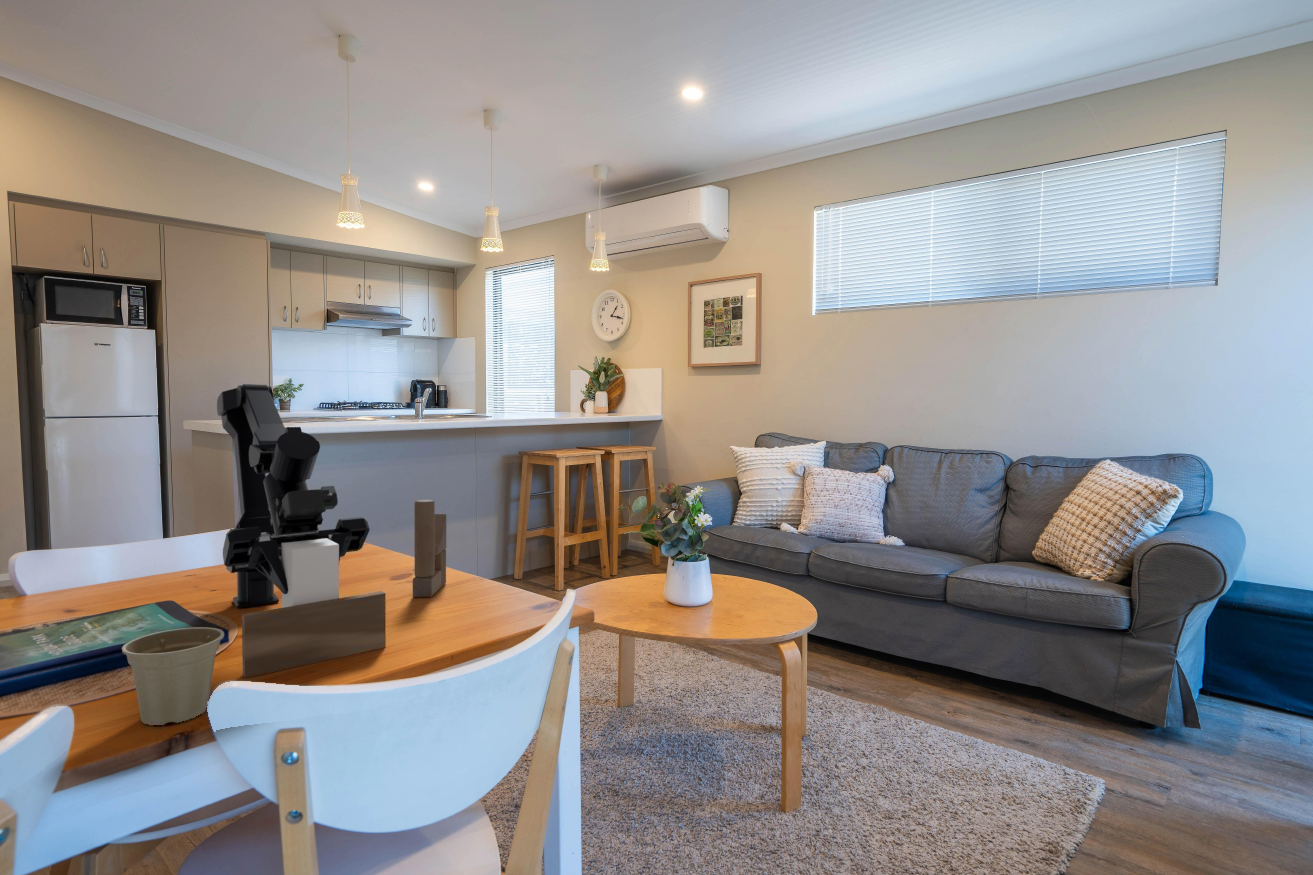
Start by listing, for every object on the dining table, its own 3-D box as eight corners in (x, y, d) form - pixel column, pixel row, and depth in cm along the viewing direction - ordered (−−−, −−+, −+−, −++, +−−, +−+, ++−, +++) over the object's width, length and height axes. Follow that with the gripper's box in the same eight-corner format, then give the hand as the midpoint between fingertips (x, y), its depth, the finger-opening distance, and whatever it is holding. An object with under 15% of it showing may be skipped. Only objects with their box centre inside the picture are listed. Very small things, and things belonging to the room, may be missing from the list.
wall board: (240, 671, 90) (239, 612, 89) (378, 641, 102) (378, 589, 101) (245, 677, 88) (244, 616, 87) (385, 646, 100) (385, 593, 99)
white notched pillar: (280, 631, 97) (280, 542, 97) (325, 623, 101) (325, 537, 101) (292, 643, 93) (292, 549, 92) (339, 634, 97) (338, 544, 96)
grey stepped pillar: (446, 583, 137) (446, 494, 136) (431, 597, 126) (431, 501, 125) (428, 583, 137) (428, 494, 136) (411, 597, 126) (411, 501, 125)
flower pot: (158, 697, 81) (157, 626, 81) (240, 695, 82) (240, 625, 82) (101, 735, 72) (100, 655, 72) (194, 732, 73) (193, 653, 72)
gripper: (225, 471, 93) (244, 565, 85) (365, 465, 106) (392, 547, 98) (215, 520, 99) (231, 612, 92) (348, 509, 112) (372, 589, 104)
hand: (311, 588), depth 96 cm, fingers closed on white notched pillar, 6 cm apart
